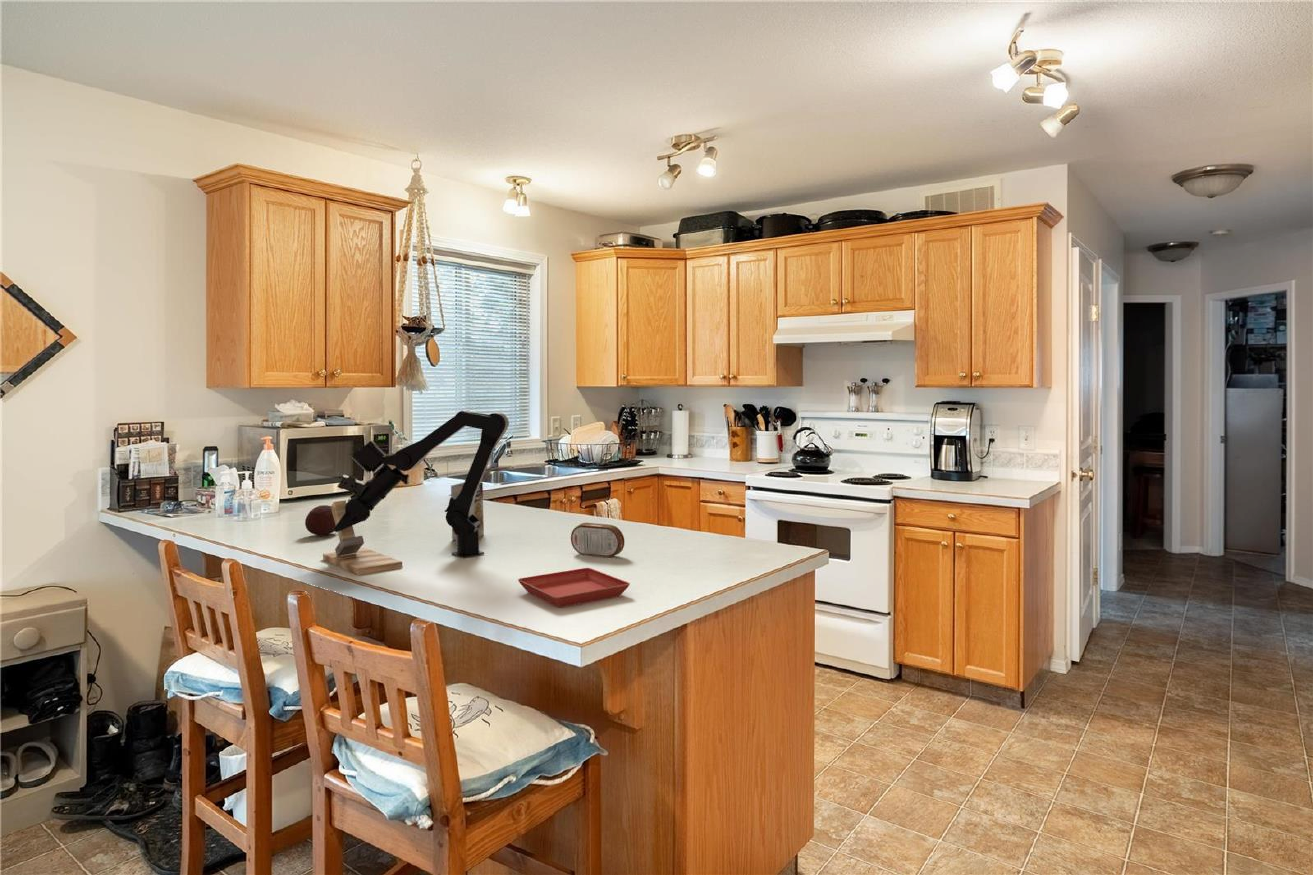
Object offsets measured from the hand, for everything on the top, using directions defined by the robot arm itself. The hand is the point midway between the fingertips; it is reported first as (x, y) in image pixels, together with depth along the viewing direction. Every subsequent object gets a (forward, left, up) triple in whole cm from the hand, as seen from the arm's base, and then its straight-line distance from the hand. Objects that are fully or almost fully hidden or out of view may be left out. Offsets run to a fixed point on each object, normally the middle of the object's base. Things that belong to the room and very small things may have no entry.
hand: (335, 529), depth 203 cm
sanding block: (-5, -2, -5) cm, 7 cm away
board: (-8, -3, -8) cm, 12 cm away
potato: (+39, -10, -9) cm, 41 cm away
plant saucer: (-70, -25, -9) cm, 75 cm away
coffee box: (+4, -40, -9) cm, 41 cm away
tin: (-43, -52, -9) cm, 68 cm away
